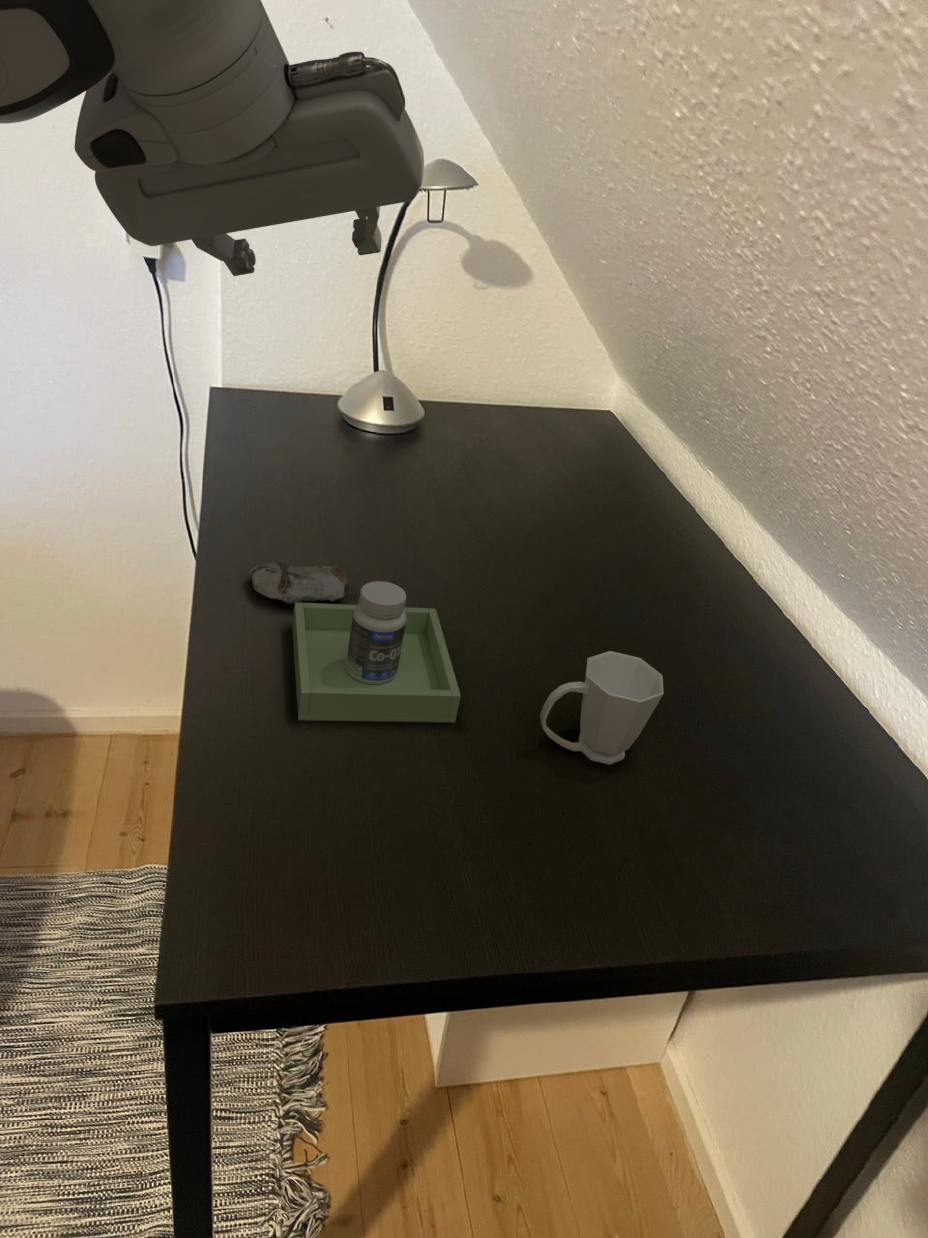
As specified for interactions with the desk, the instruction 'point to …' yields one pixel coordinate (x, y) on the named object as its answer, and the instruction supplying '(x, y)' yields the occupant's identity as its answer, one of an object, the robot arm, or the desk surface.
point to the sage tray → (337, 696)
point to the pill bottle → (377, 633)
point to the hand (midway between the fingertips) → (307, 257)
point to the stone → (299, 582)
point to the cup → (610, 705)
